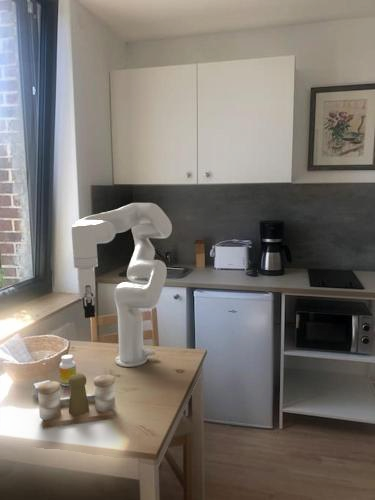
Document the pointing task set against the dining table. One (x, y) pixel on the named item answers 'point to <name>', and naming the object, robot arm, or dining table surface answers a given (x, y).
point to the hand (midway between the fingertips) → (89, 312)
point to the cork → (78, 395)
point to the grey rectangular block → (37, 388)
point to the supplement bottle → (67, 369)
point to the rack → (58, 408)
